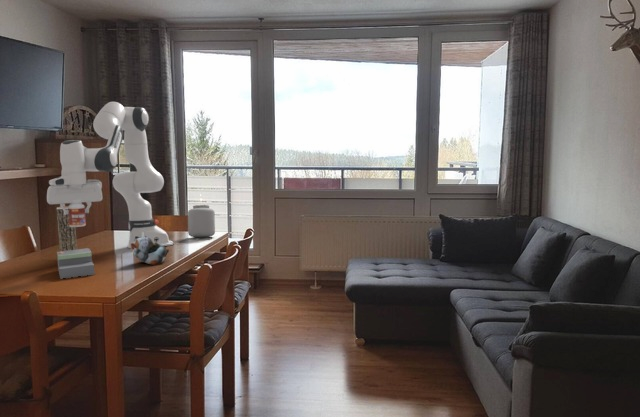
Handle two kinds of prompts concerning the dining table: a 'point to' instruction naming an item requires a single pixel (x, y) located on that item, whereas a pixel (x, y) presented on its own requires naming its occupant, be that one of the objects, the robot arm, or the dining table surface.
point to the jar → (201, 221)
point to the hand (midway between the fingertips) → (76, 213)
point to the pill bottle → (76, 214)
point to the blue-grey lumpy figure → (148, 250)
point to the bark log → (65, 231)
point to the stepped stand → (75, 263)
